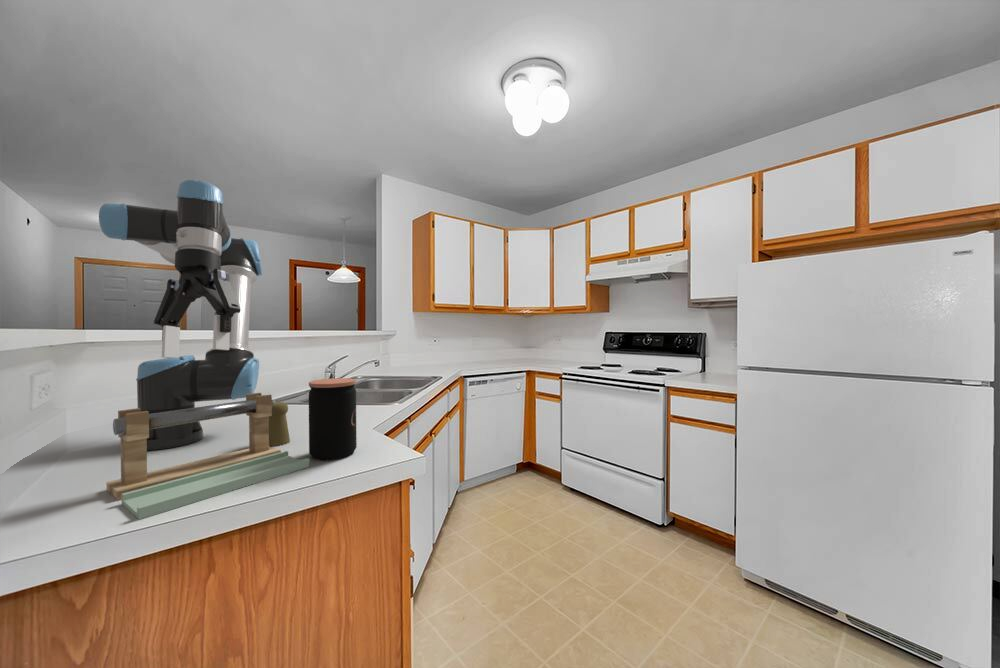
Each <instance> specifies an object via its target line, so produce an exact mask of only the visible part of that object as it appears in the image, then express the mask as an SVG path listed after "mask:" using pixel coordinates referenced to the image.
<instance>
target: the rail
mask: <svg viewBox="0 0 1000 668" xmlns="http://www.w3.org/2000/svg"><path fill="white" fill-rule="evenodd" d="M273 403H274V402H273V400H272V407H273ZM252 412H256V399H253V400H246V399H245V400H240V401H234V402H233V401H232V402H227V403H226V402H225V403H219V404H212V405H211V404H210V405H205V406H204V405H203V406H197V407H196V406H195V408H189V409H182V410H175V411H167V412H160V413H153V414H149V430H150V429H156V428H162V427H168V426H174V425H180V424H186V423H192V422H198V421H199V422H203V421H209V420H217V419H220V418H227V417H232V416H239V415H244V414H246V413H252ZM112 422H113V423H112V431H113V434H114V436H118V435H120V434H126V422H125V418H118V417H117V418H114V419H113V421H112Z"/></svg>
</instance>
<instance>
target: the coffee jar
mask: <svg viewBox="0 0 1000 668" xmlns="http://www.w3.org/2000/svg"><path fill="white" fill-rule="evenodd" d="M356 384H357V380H356V379H355V378H350V377H349V378H348V377H347V378H346V377H344V378H343V377H342V378H339V377H338V378H337V377H335V378H320V379H315V380H310V381H308V387H309V388H310V390H309V391H308V454H309V455H310V456H311V458H313V460H316V461H334V460H340V459H344V458H347V457H350V456H351V455H353V454H354V452H355V450H356V449H357V447H358V445H357V443H358V442H357V390H356V388H355V385H356Z"/></svg>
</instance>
